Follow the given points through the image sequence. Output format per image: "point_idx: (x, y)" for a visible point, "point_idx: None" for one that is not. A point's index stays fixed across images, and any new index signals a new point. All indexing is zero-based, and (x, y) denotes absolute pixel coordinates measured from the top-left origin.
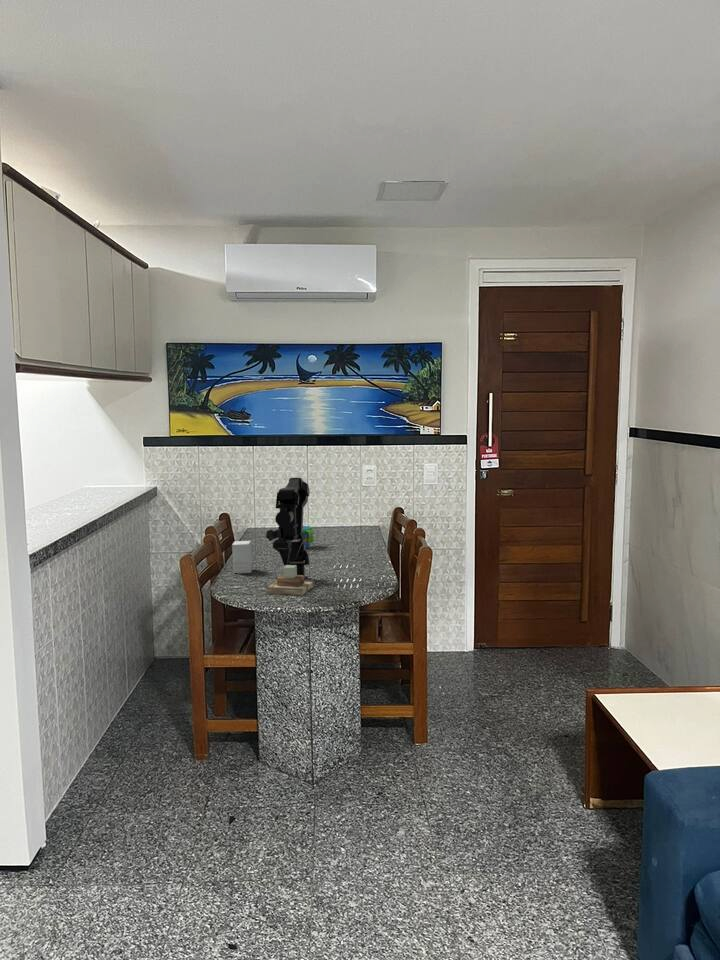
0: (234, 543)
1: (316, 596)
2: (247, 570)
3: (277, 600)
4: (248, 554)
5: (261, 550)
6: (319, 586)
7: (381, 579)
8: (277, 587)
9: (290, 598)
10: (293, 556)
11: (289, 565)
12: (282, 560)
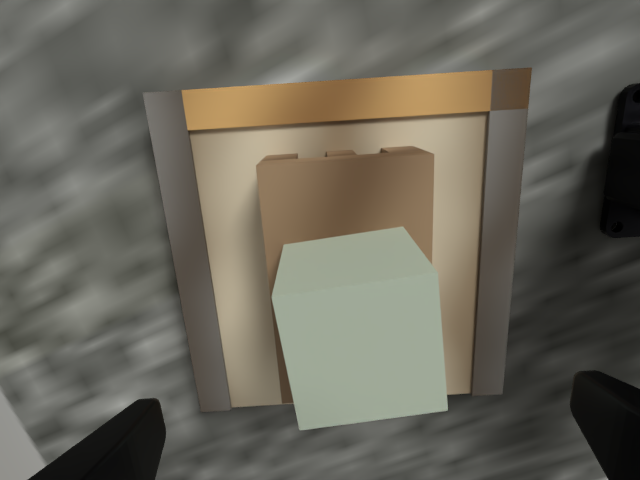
0: None
1: (224, 470)
2: None
3: (26, 277)
4: None
5: None
6: (468, 403)
7: None
8: (189, 199)
9: (114, 342)
10: (616, 424)
11: (418, 325)
12: (61, 460)
